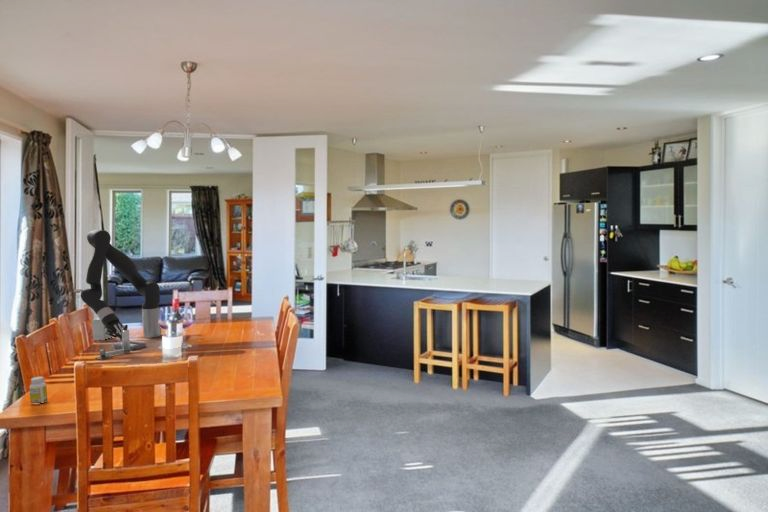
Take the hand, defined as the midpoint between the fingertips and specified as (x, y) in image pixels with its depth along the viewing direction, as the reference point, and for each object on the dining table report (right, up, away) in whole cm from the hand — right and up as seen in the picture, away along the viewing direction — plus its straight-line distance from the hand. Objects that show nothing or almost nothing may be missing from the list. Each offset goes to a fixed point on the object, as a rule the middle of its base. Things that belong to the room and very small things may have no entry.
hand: (125, 341), depth 271 cm
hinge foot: (-6, -7, -11) cm, 14 cm away
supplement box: (-30, -4, +33) cm, 44 cm away
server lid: (-3, -5, +10) cm, 12 cm away
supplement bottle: (+5, -11, -76) cm, 77 cm away
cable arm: (-2, -6, -6) cm, 9 cm away
